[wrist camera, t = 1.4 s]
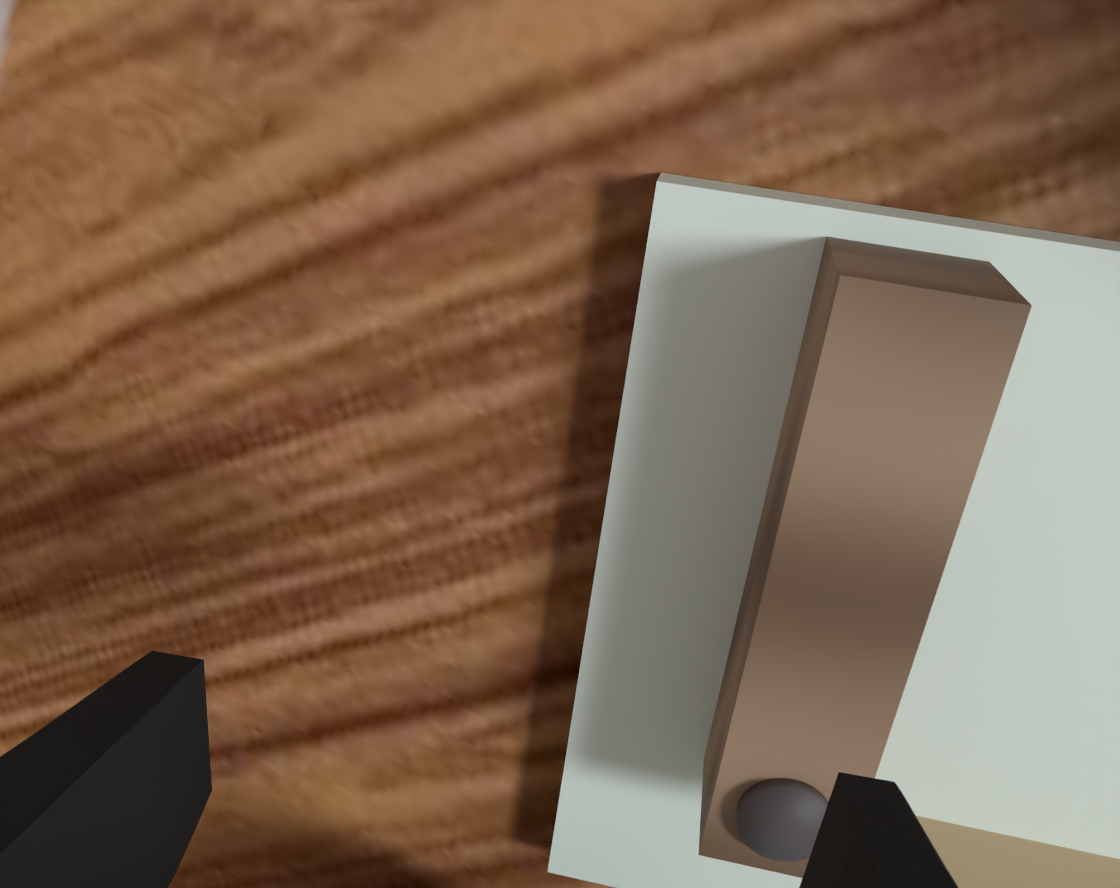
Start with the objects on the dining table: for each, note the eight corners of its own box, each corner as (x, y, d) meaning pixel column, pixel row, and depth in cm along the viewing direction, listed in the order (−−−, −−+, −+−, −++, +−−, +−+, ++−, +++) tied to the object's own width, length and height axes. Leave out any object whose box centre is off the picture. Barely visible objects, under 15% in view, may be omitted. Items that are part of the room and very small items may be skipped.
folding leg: (827, 786, 22) (839, 898, 19) (703, 759, 22) (698, 866, 20) (989, 261, 17) (1037, 311, 14) (826, 236, 17) (841, 280, 15)
